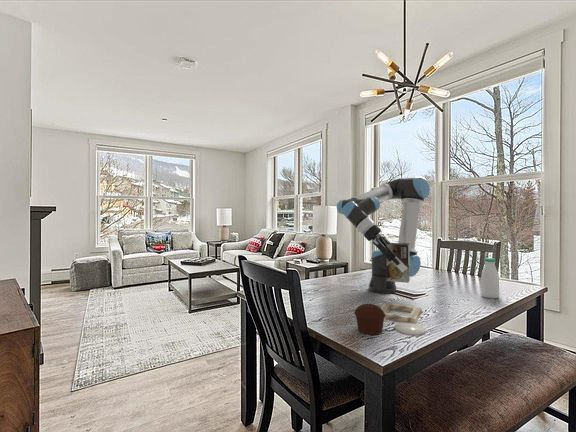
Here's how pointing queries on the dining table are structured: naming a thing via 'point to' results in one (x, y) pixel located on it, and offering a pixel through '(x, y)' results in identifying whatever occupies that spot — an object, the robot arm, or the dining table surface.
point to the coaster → (410, 328)
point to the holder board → (414, 310)
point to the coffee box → (404, 256)
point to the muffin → (369, 319)
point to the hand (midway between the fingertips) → (406, 268)
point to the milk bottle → (490, 279)
